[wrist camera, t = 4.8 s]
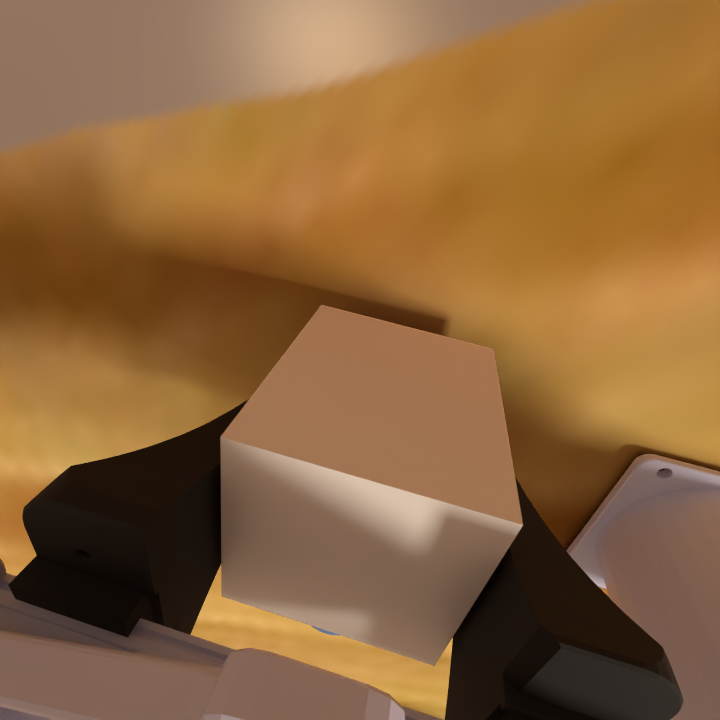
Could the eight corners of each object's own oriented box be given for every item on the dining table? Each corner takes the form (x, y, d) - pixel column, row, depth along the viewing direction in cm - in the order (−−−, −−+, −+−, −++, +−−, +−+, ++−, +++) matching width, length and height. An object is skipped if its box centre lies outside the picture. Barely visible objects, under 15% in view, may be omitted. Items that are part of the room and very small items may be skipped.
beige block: (493, 348, 13) (523, 525, 7) (442, 472, 17) (434, 665, 11) (321, 304, 14) (220, 436, 8) (303, 432, 17) (221, 595, 11)
